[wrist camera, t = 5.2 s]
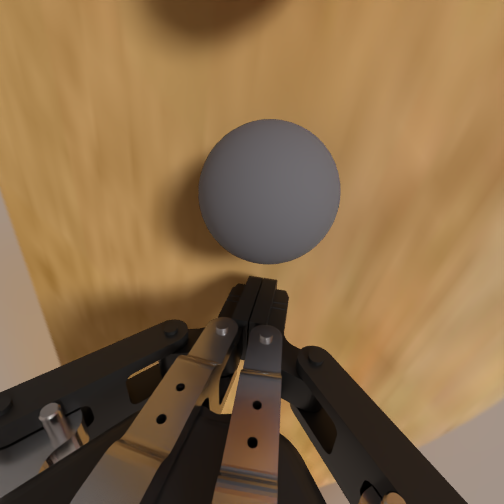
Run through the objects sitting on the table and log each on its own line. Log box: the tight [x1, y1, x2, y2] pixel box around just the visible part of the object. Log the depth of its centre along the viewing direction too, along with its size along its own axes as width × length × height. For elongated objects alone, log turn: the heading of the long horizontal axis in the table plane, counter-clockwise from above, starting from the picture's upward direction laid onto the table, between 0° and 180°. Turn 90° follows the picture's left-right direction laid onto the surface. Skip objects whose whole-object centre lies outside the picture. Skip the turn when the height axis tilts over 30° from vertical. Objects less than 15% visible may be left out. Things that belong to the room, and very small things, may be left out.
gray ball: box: [199, 119, 340, 264], centre depth 11 cm, size 6×6×6 cm
